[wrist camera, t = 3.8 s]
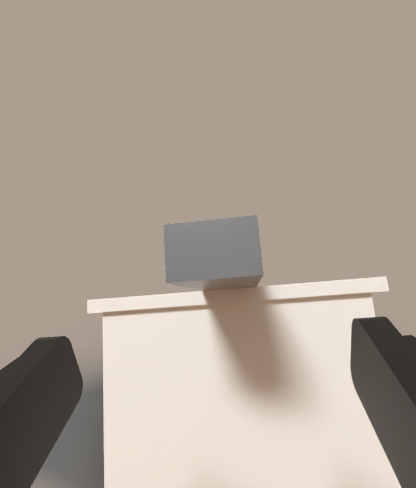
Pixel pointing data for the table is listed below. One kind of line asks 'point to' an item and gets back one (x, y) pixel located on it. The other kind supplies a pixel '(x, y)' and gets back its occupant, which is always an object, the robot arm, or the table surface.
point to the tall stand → (238, 389)
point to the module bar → (213, 254)
